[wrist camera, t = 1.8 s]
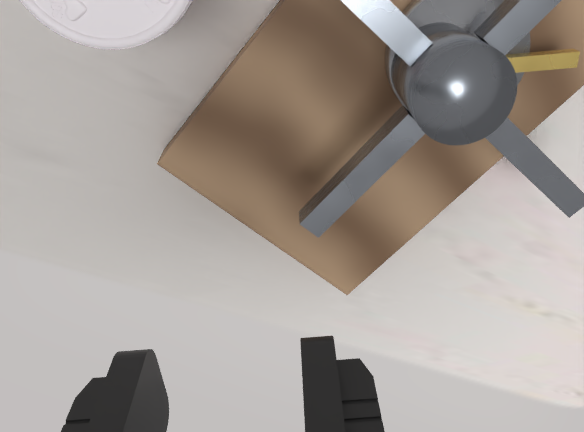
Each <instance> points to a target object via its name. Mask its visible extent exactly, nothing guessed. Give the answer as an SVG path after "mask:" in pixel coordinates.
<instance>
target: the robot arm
mask: <svg viewBox="0 0 584 432" xmlns="http://www.w3.org/2000/svg"><path fill="white" fill-rule="evenodd" d="M301 357H302V376H303V396H304V416H305V432H384V427H383V423H382V419H381V413H380V408H379V403H378V398H377V393H376V388H375V383H374V379H373V376H372V374H371V373H370V372H369V370H368V369H367V368H366V366H365V365H364V364H363V363H362V361H361V360H360V359H346V360H336V354H335V346H334V339H333V336H323V337H310V338H301ZM168 418H169V403H168V396H167V393H166V389H165V386H164V382H163V379H162V375H161V372H160V369H159V365H158V362H157V358H156V355H155V353H154V351H153V350H152V349H148V350H134V351H121V352H117V353H116V354H115V356H114V358H113V360H112V363H111V366H110V368H109V371H108V374H107V376H106V377H102V378H93V379H92V380H91V381H90V382H89V383H88V384H87V385H86V386H85V388H84V389H83V390H82V391H81V392H80V393H79V394H78V396H77V397H76V398H75V400H74V402H73V404H72V407H71V409H70V412H69V414H68V416H67V419H66V425H64V426H63V428H62V430H61V432H166V430H167V425H168Z"/></svg>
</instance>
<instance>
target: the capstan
mask: <svg viewBox="0 0 584 432" xmlns="http://www.w3.org/2000/svg"><path fill="white" fill-rule="evenodd" d="M341 1H342V2H343V3H344V4H345V5H346V6H347V7H348V8H349V9H350V10H351V11H352V12H353V13H354V14H355V15H356V16H357V17H359V18H360V19H361V20H362V21H363V22H364V23H365V24H366V25H367V26H368V27H369V28H370V29H371V30H372V31H373V32H374V33H375V34H376V35H377V36H379V37H380V38H381V39H382V40H383V41H384V42H385V43H386V44H387V46H386V52H385V68H386V74H387V78H388V81H389V84H390V86H391V88H392V90H393V92H394V93H395V95H396V96H397V98H398V99H399V101H400V102H401V104H402V106H401V107H400V108H399V109H398V110H397V111H396V112H395V113H394V114H393V115H392V116H391V117H390V118H389V119H388V120H387V121H386V122H385V123H384V124H383V126H382V127H381V128H380V129H379V130H378V131H377V132H376V133H375V134H374V135H373V136H372V137H371V138H370V139H369V140H368V141H367V142H366V143H365V144H364V145H363V146H362V147H361V148H360V149H359V150H358V151H357V152H356V153H355V154H354V155H353V156H352V157H351V158H350V159H349V160H348V161H347V163H346V164H345V165H344V166H343V167H342V168H341V169H340V170H339V171H338V172H337V173H336V174H335V175H334V176H333V177H332V178H331V179H330V180H329V181H328V182H327V183H326V184H325V185H324V186H323V187H322V188H321V189H320V190H319V191H318V192H317V193H316V194H315V195H314V196H313V197H312V198H311V199H310V201H309V202H308V203H307V204H306V205H305V206H304V207H303V208H302V209H301V210H300V211H299V223H300V225H301V226H303V227H304V228H306V229H307V230H308V231H310V232H311V233H312V234H314V235H315V236H317V237H318V238H319V237H320V236H321V235H322V234H323V233H324V232H325V231H326V230H327V229H328V228H329V227H330V226H331V225H332V224H333V223H334V222H335V221H336V220H337V219H338V218H339V217H340V216H342V215H343V214H344V213H345V212H346V211H347V210H348V209H349V208H350V207H351V206H352V205H353V204H354V203H355V202H356V201H357V200H358V199H359V198H360V197H361V196H362V195H363V194H364V193H365V192H366V191H367V190H368V189H369V188H370V187H371V186H372V185H373V184H374V183H375V182H376V181H377V180H378V179H379V178H380V177H381V176H382V175H383V174H384V173H386V172H387V171H388V170H389V169H390V168H391V167H392V166H393V165H394V164H395V163H396V162H397V161H398V160H399V159H400V158H401V157H402V156H403V155H404V154H405V153H406V152H407V151H408V150H409V149H410V148H411V147H412V146H413V145H414V144H415V143H416V142H417V141H418V140H419V139H420V138H421V137H422V136H423V135H424V134H426V135H427V136H429V137H430V138H431V139H433V140H435V141H437V142H439V143H442V144H446V145H454V146H455V145H467V144H471V143H474V142H477V141H479V140H481V139H483V138H486V139H487V140H488V141H489V142H490V143H491V144H492V145H493V146H494V147H495V148H496V149H497V150H498V151H499V152H501V153H502V154H503V155H504V156H505V157H506V158H507V159H508V160H509V161H510V162H511V163H512V164H513V165H514V166H515V167H516V168H517V169H518V170H519V171H520V172H522V173H523V174H524V175H525V176H526V177H527V178H528V179H529V180H530V181H531V182H532V183H533V184H534V185H535V186H536V187H537V188H538V189H539V190H540V191H542V192H543V193H544V194H545V195H546V196H547V197H548V198H549V199H550V200H551V201H552V202H553V203H554V204H555V205H556V206H557V207H558V208H559V209H560V210H562V211H563V212H564V213H565V214H566V215H567V216H568V217H569V218H570V217H571V216H572V215H573V214H575V213H576V212H577V211H578V210H580V209H581V208H582V207H584V193H583V192H582V191H581V190H580V189H579V188H578V187H577V186H576V185H575V184H574V183H573V182H572V181H571V180H570V179H569V178H568V177H567V176H566V175H565V174H564V173H563V172H562V171H561V170H560V169H559V168H558V167H557V166H556V165H555V164H554V163H553V162H552V161H551V160H550V159H549V158H548V157H547V156H546V155H545V154H544V153H543V152H542V151H541V150H540V149H539V148H538V147H537V146H536V145H535V144H534V143H533V142H532V141H531V140H530V139H529V138H528V137H527V136H526V135H525V134H524V133H523V132H522V131H521V130H520V129H519V128H518V127H517V126H516V125H515V124H514V123H513V122H512V121H511V120H510V119H509V118H508V115H509V114H510V112H511V110H512V108H513V105H514V103H515V100H516V95H517V85H518V84H519V82H520V81H521V79H522V76H523V74H524V72H531V71H542V70H554V69H565V68H577V65H578V60H579V55H580V51H578V50H575V49H564V50H552V51H541V52H530V31H531V30H532V29H533V28H534V27H535V26H536V25H537V24H538V23H539V22H540V21H541V20H542V19H543V18H544V17H545V16H546V15H547V14H548V13H549V12H550V11H551V10H552V9H553V8H554V7H555V6H556V5H557V4H558V3H559V2H560V1H561V0H413V1H412V2H411V3H410V4H409V5H408V6H407V7H406V8H405V9H404V11H403V12H401V11H400V10H399V9H398V8H397V7H396V6H395V5H394V4H393V3H392V2H391V1H390V0H341Z"/></svg>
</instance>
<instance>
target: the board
mask: <svg viewBox="0 0 584 432" xmlns="http://www.w3.org/2000/svg"><path fill="white" fill-rule="evenodd" d="M390 1H391V2H392V3H393V4H394V5H395V6H396V7H397V8H398V9H399V10H400V11H401V12H403V11H404V9H405V8H406V7H407V6H408V5H409V4H410V3H411V2H412V1H413V0H390ZM386 46H387V44H386V43H385V42H384V41H383V40H382V39H381V38H380V37H379V36H377V35H376V34H375V33H374V32H373V31H372V30H371V29H370V28H369V27H368V26H367V25H366V24H365V23H364V22H363V21H362V20H361V19H360V18H359V17H357V16H356V15H355V14H354V13H353V12H352V11H351V10H350V9H349V8H348V7H347V6H346V5H345V4H344V3H343V2H342V1H341V0H280V1H279V2H278V4H277V5H276V6H275V7H274V9H273V10H272V11H271V13H270V14H269V15H268V16H267V18H266V19H265V20H264V22H263V23H262V24H261V25H260V27H259V28H258V29H257V31H256V32H255V33H254V34H253V36H252V37H251V38H250V40H249V41H248V42H247V43H246V45H245V46H244V47H243V49H242V50H241V51H240V52H239V54H238V55H237V56H236V58H235V59H234V60H233V61H232V63H231V64H230V65H229V67H228V68H227V69H226V70H225V72H224V73H223V74H222V76H221V77H220V78H219V79H218V81H217V82H216V83H215V85H214V86H213V87H212V88H211V90H210V91H209V92H208V94H207V95H206V96H205V97H204V99H203V100H202V101H201V103H200V104H199V105H198V106H197V108H196V109H195V110H194V112H193V113H192V114H191V115H190V117H189V118H188V119H187V121H186V122H185V123H184V124H183V126H182V127H181V128H180V130H179V131H178V132H177V133H176V135H175V136H174V137H173V139H172V140H171V141H170V142H169V144H168V145H167V146H166V148H165V149H164V151H163V153H162V155H161V157H160V159H159V161H158V163H157V164H158V165H159V166H161V167H162V168H164V169H165V170H167V171H168V172H169V173H171V174H172V175H174V176H175V177H177V178H178V179H180V180H181V181H182V182H184V183H185V184H187V185H188V186H190V187H191V188H193V189H194V190H196V191H197V192H198V193H200V194H201V195H203V196H204V197H206V198H207V199H209V200H210V201H211V202H213V203H214V204H216V205H217V206H219V207H220V208H222V209H223V210H225V211H226V212H227V213H229V214H230V215H232V216H233V217H235V218H236V219H238V220H239V221H240V222H242V223H243V224H245V225H246V226H248V227H249V228H251V229H252V230H254V231H255V232H256V233H258V234H259V235H261V236H262V237H264V238H265V239H267V240H268V241H269V242H271V243H272V244H274V245H275V246H277V247H278V248H280V249H281V250H283V251H284V252H285V253H287V254H288V255H290V256H291V257H293V258H294V259H296V260H297V261H298V262H300V263H301V264H303V265H304V266H306V267H307V268H309V269H310V270H312V271H313V272H314V273H316V274H317V275H319V276H320V277H322V278H323V279H325V280H326V281H327V282H329V283H330V284H332V285H333V286H335V287H336V288H338V289H339V290H340V291H342V292H343V293H345V294H346V295H348V294H349V293H350V292H351V291H352V290H354V289H355V288H356V287H357V286H358V285H359V284H360V283H361V282H363V281H364V280H365V279H366V278H367V277H368V276H369V275H370V274H372V273H373V272H374V271H375V270H376V269H377V268H378V267H379V266H381V265H382V264H383V263H384V262H385V261H386V260H387V259H388V258H390V257H391V256H392V255H393V254H394V253H395V252H396V251H397V250H399V249H400V248H401V247H402V246H403V245H404V244H405V243H406V242H408V241H409V240H410V239H411V238H412V237H413V236H414V235H415V234H417V233H418V232H419V231H420V230H421V229H422V228H423V227H424V226H426V225H427V224H428V223H429V222H430V221H431V220H432V219H433V218H435V217H436V216H437V215H438V214H439V213H440V212H441V211H442V210H444V209H445V208H446V207H447V206H448V205H449V204H450V203H451V202H453V201H454V200H455V199H456V198H457V197H458V196H459V195H460V194H462V193H463V192H464V191H465V190H466V189H467V188H468V187H469V186H471V185H472V184H473V183H474V182H475V181H476V180H477V179H478V178H480V177H481V176H482V175H483V174H484V173H485V172H486V171H487V170H489V169H490V168H491V167H492V166H493V165H494V164H495V163H496V162H498V161H499V160H500V159H501V158H502V157H503V156H504V155H503V154H502V153H501V152H499V151H498V150H497V149H496V148H495V147H494V146H493V145H492V144H491V143H490V142H489V141H488V140H487V139H486V138H483V139H481V140H479V141H477V142H474V143H471V144H467V145H455V146H454V145H446V144H442V143H439V142H437V141H435V140H433V139H431V138H430V137H429V136H427V135H426V134H424V135H423V136H422V137H421V138H420V139H419V140H418V141H417V142H416V143H415V144H414V145H413V146H412V147H411V148H410V149H409V150H408V151H407V152H406V153H405V154H404V155H403V156H402V157H401V158H400V159H399V160H398V161H397V162H396V163H395V164H394V165H393V166H392V167H391V168H390V169H389V170H388V171H387V172H386V173H384V174H383V175H382V176H381V177H380V178H379V179H378V180H377V181H376V182H375V183H374V184H373V185H372V186H371V187H370V188H369V189H368V190H367V191H366V192H365V193H364V194H363V195H362V196H361V197H360V198H359V199H358V200H357V201H356V202H355V203H354V204H353V205H352V206H351V207H350V208H349V209H348V210H347V211H346V212H345V213H344V214H343V215H342V216H340V217H339V218H338V219H337V220H336V221H335V222H334V223H333V224H332V225H331V226H330V227H329V228H328V229H327V230H326V231H325V232H324V233H323V234H322V235H321V236H320V237H319V238H318V237H317V236H315V235H314V234H312V233H311V232H310V231H308V230H307V229H306V228H304V227H303V226H301V225H300V223H299V211H300V210H301V209H302V208H303V207H304V206H305V205H306V204H307V203H308V202H309V201H310V199H311V198H312V197H313V196H314V195H315V194H316V193H317V192H318V191H319V190H320V189H321V188H322V187H323V186H324V185H325V184H326V183H327V182H328V181H329V180H330V179H331V178H332V177H333V176H334V175H335V174H336V173H337V172H338V171H339V170H340V169H341V168H342V167H343V166H344V165H345V164H346V163H347V161H348V160H349V159H350V158H351V157H352V156H353V155H354V154H355V153H356V152H357V151H358V150H359V149H360V148H361V147H362V146H363V145H364V144H365V143H366V142H367V141H368V140H369V139H370V138H371V137H372V136H373V135H374V134H375V133H376V132H377V131H378V130H379V129H380V128H381V127H382V126H383V124H384V123H385V122H386V121H387V120H388V119H389V118H390V117H391V116H392V115H393V114H394V113H395V112H396V111H397V110H398V109H399V108H400V107H401V106H402V104H401V102H400V101H399V99H398V98H397V96H396V95H395V93H394V92H393V90H392V88H391V86H390V84H389V81H388V78H387V74H386V68H385V52H386ZM564 49H575V50H578V51H580V55H579V60H578V65H577V68H565V69H554V70H542V71H531V72H524V74H523V76H522V79H521V81H520V82H519V84H518V85H517V95H516V100H515V103H514V105H513V108H512V110H511V112H510V114H509V115H508V118H509V119H510V120H511V121H512V122H513V123H514V124H515V125H516V126H517V127H518V128H519V129H520V130H521V131H522V132H523V133H524V134H525V135H526V136H527V135H528V134H529V133H530V132H531V131H532V130H534V129H535V128H536V127H537V126H538V125H539V124H540V123H541V122H543V121H544V120H545V119H546V118H547V117H548V116H549V115H550V114H552V113H553V112H554V111H555V110H556V109H557V108H558V107H559V106H561V105H562V104H563V103H564V102H565V101H566V100H567V99H568V98H570V97H571V96H572V95H573V94H574V93H575V92H576V91H577V90H579V89H580V88H581V87H582V86H583V85H584V0H561V1H560V2H559V3H558V4H557V5H556V6H555V7H554V8H553V9H552V10H551V11H550V12H549V13H548V14H547V15H546V16H545V17H544V18H543V19H542V20H541V21H540V22H539V23H538V24H537V25H536V26H535V27H534V28H533V29H532V30H531V31H530V52H541V51H552V50H564Z"/></svg>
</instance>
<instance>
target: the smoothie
mask: <svg viewBox="0 0 584 432" xmlns="http://www.w3.org/2000/svg"><path fill="white" fill-rule="evenodd" d="M19 1H20V2H21V3H22V4H23V5H24V6H25V8H26V9H27V10H28V11H29V12H30V13H31V14H32V15H33V16H34V17H35V18H37V19H38V20H39V21H40V22H41V23H43V24H44V25H45V26H46V27H48V28H49V29H51V30H52V31H54V32H55V33H57V34H59V35H61V36H62V37H64V38H66V39H69V40H71V41H73V42H76V43H78V44H81V45H84V46H88V47H92V48H98V49H108V50H116V49H126V48H132V47H136V46H139V45H142V44H145V43H147V42H149V41H151V40H153V39H155V38H157V37H158V36H160V35H162V34H164V33H166V32H167V31H168V30H169V29H170V28H171V27H173V26H174V25H175V24H176V23H177V22H178V21H179V20H180V19H181V18H182V17H183V16H184V15H185V13H186V11H187V9H188V8H189V6H190V4H191V3H192V1H193V0H19Z"/></svg>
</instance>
